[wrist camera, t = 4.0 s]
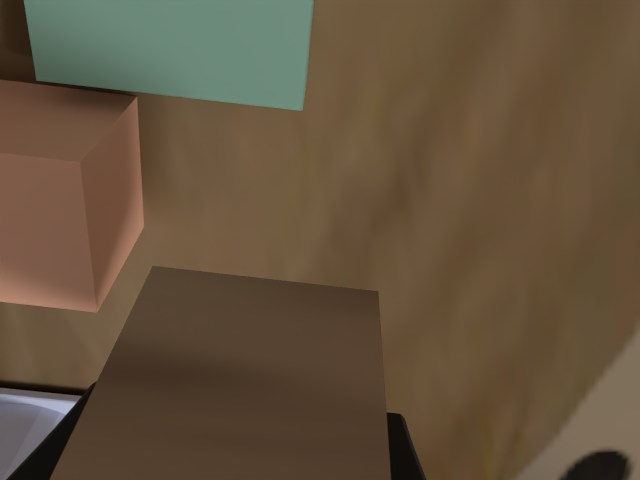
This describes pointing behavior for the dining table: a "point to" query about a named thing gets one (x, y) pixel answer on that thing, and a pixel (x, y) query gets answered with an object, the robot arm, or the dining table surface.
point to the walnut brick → (237, 385)
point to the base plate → (177, 47)
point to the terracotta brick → (66, 193)
